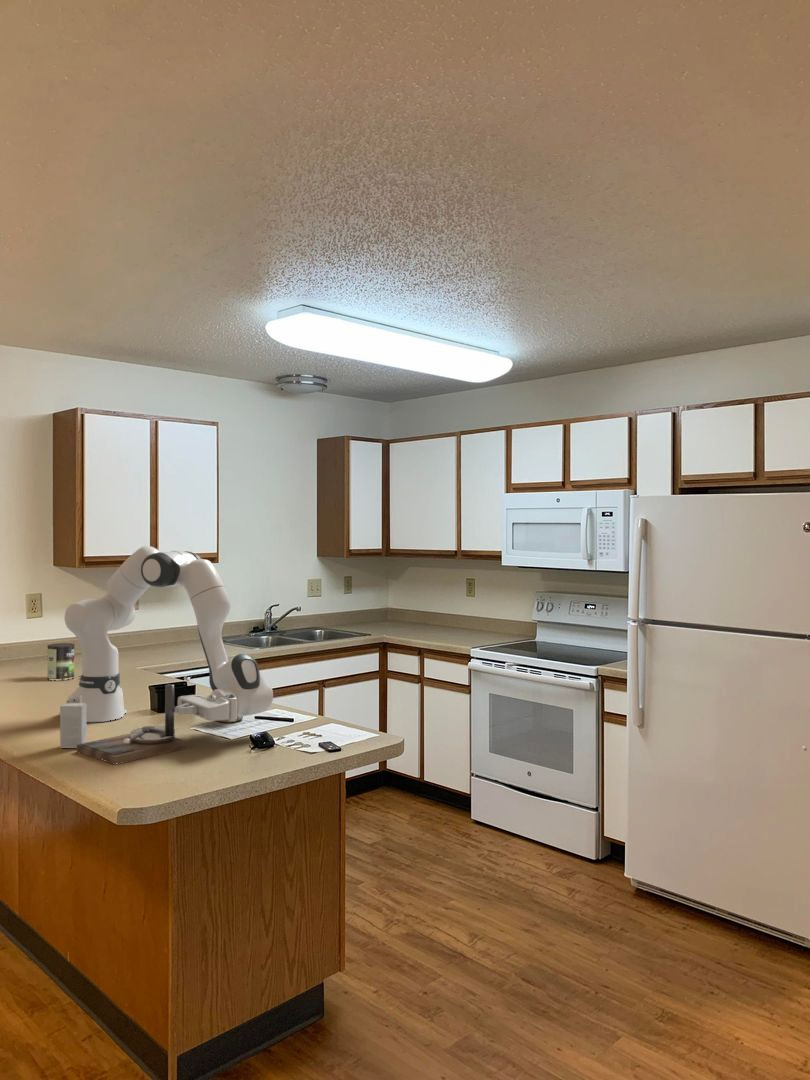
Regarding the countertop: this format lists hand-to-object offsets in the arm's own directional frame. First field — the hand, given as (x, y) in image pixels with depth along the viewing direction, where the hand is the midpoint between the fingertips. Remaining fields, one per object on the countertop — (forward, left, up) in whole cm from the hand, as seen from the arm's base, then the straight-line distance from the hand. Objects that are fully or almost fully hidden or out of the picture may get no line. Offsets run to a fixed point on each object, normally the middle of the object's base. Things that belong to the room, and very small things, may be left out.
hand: (176, 710), depth 224 cm
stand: (-9, -8, -11) cm, 16 cm away
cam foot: (-5, -5, -9) cm, 11 cm away
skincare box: (-24, -17, -11) cm, 32 cm away
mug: (-17, +31, -11) cm, 37 cm away
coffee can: (-127, +34, -11) cm, 132 cm away
